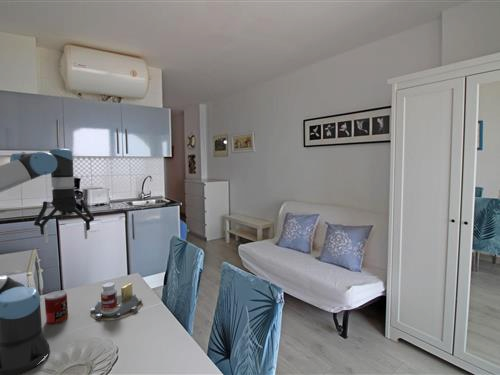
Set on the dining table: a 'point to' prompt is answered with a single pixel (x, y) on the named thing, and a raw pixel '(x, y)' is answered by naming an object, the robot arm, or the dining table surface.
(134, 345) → the dining table surface
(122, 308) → the sprocket
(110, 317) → the base
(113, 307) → the pill bottle
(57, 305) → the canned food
